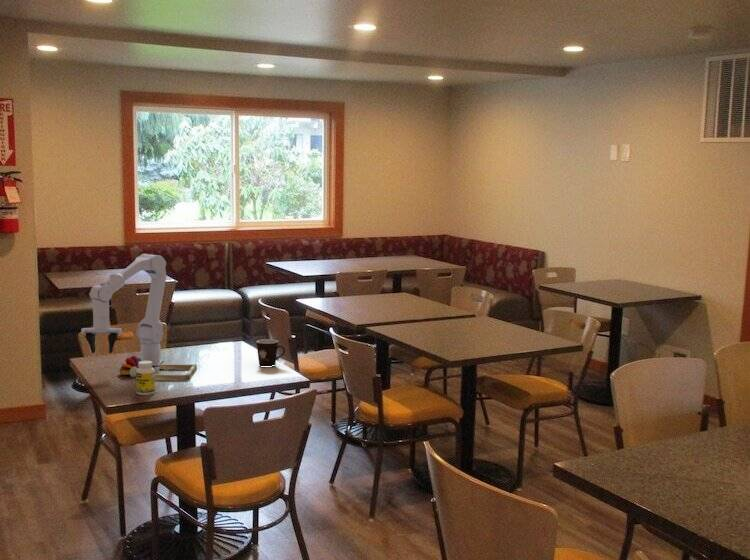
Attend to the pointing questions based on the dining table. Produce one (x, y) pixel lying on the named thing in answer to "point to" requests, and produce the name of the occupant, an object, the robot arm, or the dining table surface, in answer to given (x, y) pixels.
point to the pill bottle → (145, 378)
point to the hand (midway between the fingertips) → (102, 352)
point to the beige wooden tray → (187, 376)
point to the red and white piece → (130, 366)
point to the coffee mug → (268, 351)
